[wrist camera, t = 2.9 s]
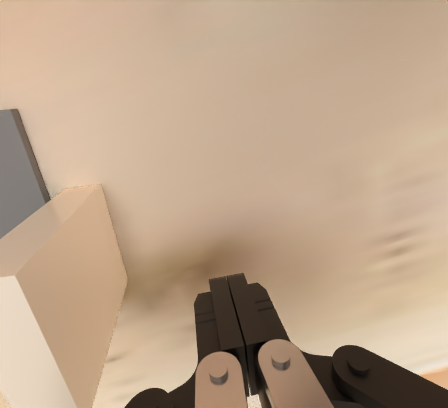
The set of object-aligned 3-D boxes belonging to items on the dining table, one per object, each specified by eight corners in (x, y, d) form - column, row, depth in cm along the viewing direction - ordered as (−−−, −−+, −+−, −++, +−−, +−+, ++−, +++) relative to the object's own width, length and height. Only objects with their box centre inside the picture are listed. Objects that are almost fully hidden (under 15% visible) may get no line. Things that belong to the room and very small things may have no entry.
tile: (60, 189, 16) (-74, 289, 7) (100, 183, 16) (14, 275, 8) (94, 286, 18) (23, 441, 10) (128, 280, 18) (86, 427, 10)
